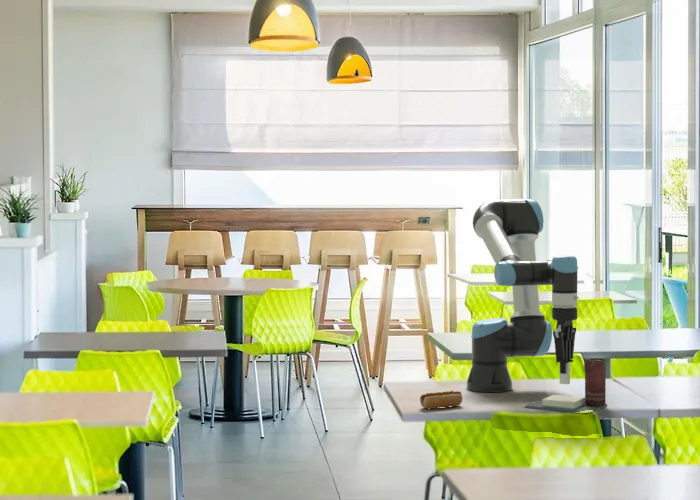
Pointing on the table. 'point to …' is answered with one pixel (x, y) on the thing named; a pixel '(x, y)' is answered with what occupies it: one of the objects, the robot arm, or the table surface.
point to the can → (595, 382)
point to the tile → (563, 402)
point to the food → (441, 399)
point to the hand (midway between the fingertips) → (564, 383)
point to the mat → (539, 405)
